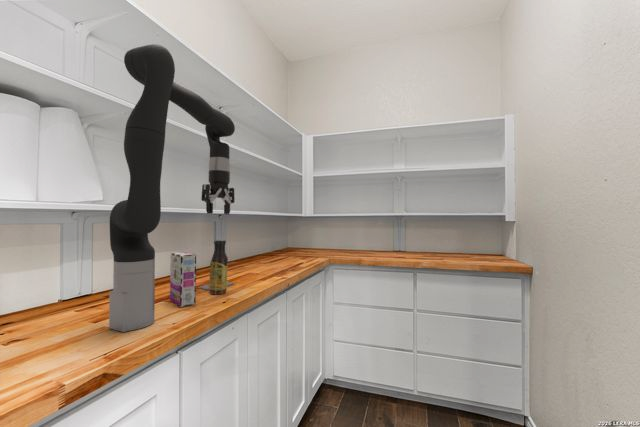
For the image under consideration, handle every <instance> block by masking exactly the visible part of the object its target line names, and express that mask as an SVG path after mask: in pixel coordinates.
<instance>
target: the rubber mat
mask: <svg viewBox="0 0 640 427" xmlns="http://www.w3.org/2000/svg"><path fill="white" fill-rule="evenodd" d="M209 285H210V283H209V284H208V283H207V284H205V285H202V286H198V287H197V290H205V291H209V292H210V289H209ZM234 285H235V282H229V281H227V287H231V286H234Z"/></svg>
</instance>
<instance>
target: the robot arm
mask: <svg viewBox="0 0 640 427" xmlns="http://www.w3.org/2000/svg"><path fill="white" fill-rule="evenodd" d="M123 61H124V66H125V69H126V70H127V72H128V74H129V75H130V76H131V77H132V79H134V80H135V81H137V83H140V84H141V85H143V91H142V93H141V96H140V98H139V99H138V100H137V103H136V104H135V105H134V107H133V109H132V110H131V112H130V114H129V115H128V117H127V121H126V124H125V130H124V139H123V151H124V153H123V154H124V158H125V160H126V163H127V164H126V165H127V167H128V172H129V177H130V179H129V180H130V181H129V188H128V196H127V199H126V200H125V199H124V200H121V201H120V202H117V203H116V204H114V206H113V207H112V208H111V212H110V215H109V244H110V249H111V252H112V254H113V255H112V256H113V282H112V283H113V284H112V285H113V286H112V288H113V289H112V290H110V291H109V292H108V294H109V296H108V297H109V301H108V302H109V303H108V304H109V305H108V306H109V307H108V309H109V311H108V312H109V314H108V315H109V317H108V318H109V319H108V320H109V322H108V328H109V329H111V330H115V331H119V332H121V333H126V332H128V331H133V330H134V331H135V330H140V329H143V328H146V327H148V326H150V325H153V324H154V323H155V315H156V314H155V311H156V309H155V299H156V298H155V297H156V295H155V294H156V292H155V290H156V289H155V286H156V284H155V282H156V281H155V278H156V277H155V274H156V272H155V271H156V270H155V268H156V264H155V263H156V262H155V260H156V258H155V257H156V250H155V248H154V247H153V246H152V245H151V242H150V241H149V234H150V233H152V232H153V231H155V229H156V228H157V227H158V226H159V224H160V221H161V217H162V216H161V214H162V213H161V210H162V209H161V208H162V207H161V206H162V204H161V203H162V202H161V200H162V199H161V179H162V172H163V171H162V170H163V157H164V151H165V144H166V143H165V142H166V140H165V139H166V128H167V125H166V124H167V118H168V110H169V103H170V102H171V103H173V104H174V105H175V106H177V107H179V108H180V109H182V110H183V111H185V112H186V113H187V114H188V115H190V116H191V117H192V118H193V119H194V120H196V121H197V122H198V123H200V124H201V125H204V126H205V134H206V137H207V138H206V139H207V142H208V145H209V160H208V161H209V162H208V183H206V184H202V186H201V187H202V188H201V202H205V203H206V204H205V205H206V206H205V207H206V208H205V210H206V214H208V215H209V214H211V215H212V214H213V213H214V201H215V200H216V199H217V198H219V199H221V201H223V203H224V205H223V213H224V215H229V214H230V213H231V204H235V188H234V187H229V184H230V181H231V180H230V179H231V164H230V146H229V144H228V143H226V142H222V141H221V139H220V138H225V137H226V138H227V137H231V136H233V134H234V133H235V130H236V127H235V123H234V121H233V120H232V119H231V118H230V116H228V115H227V114H225V113H223V112H222V111H220V110H218V109H215V108H214V107H212V105H210V104H209V103H208V101H207V100H205V99H204V98H203V97H202V96H200V95H199V94H197V93H196V92H194V91H192V90H190V89H188V88H186V87H185V86H181V85H180V84H177V83H176V82H174V80H175V72H176V68H175V67H176V66H175V61H174V58H173V55H172V54H171V53H170V50H168V49H167V47H165V46H164V45H161V44H158V43H157V44H153V43H152V44H147V45H142V46H138V47H134V48H131V49H129V50H127V51H126V52H125V54H124V56H123Z"/></svg>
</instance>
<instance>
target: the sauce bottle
mask: <svg viewBox="0 0 640 427" xmlns="http://www.w3.org/2000/svg"><path fill="white" fill-rule="evenodd" d="M213 244H214V250H213V254H212V257H211V259H210V265H209V267H210V268H209V284H210V285H209V289H210V291H209V293H210V294H211V295H222V294H225V293H226V292H227V290H228V289H227V288H228V286H227V282H228V274H229V273H228V270H229V267H228V266H229V265H228V264H229V263H228V256H227V253H226V244H227V241H226V239H215V240H214V241H213Z"/></svg>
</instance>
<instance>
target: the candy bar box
mask: <svg viewBox="0 0 640 427" xmlns="http://www.w3.org/2000/svg"><path fill="white" fill-rule="evenodd" d="M169 278H170V279H169V281H170V283H169V284H170V288H169V300H170V302H171V303H173V304H174V305H177V306H178V307H179V308H185V307H190V306H191V307H192V306H195V305H197V304H196V297H197V296H196V291H197V288H196V287H197V281H196V278H197V254H194V253H191V252H185V251H178V252H170V276H169Z"/></svg>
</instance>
